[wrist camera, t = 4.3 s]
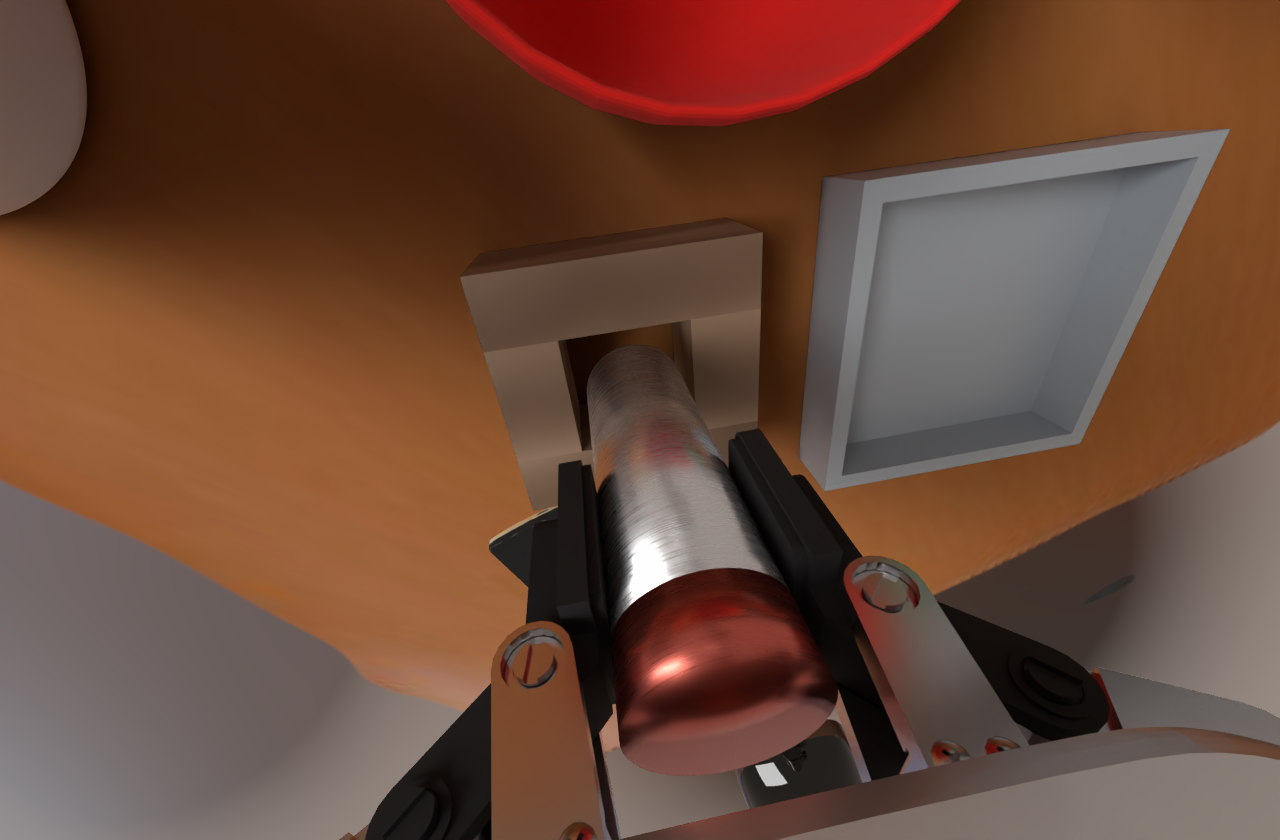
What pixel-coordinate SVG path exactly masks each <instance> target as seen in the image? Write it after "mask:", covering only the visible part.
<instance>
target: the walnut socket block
mask: <svg viewBox="0 0 1280 840" xmlns="http://www.w3.org/2000/svg"><path fill="white" fill-rule="evenodd" d="M762 246H763V232H761V231H758V230H756V229H753V228H751V227H748V226H746V225H743V224H741V223H738V222H736V221H733V220H731V219H728V218H721V219H714V220H707V221H700V222H693V223H686V224H680V225H673V226H666V227H659V228H652V229H645V230H638V231H631V232H624V233H617V234H611V235H604V236H597V237H590V238H583V239H576V240H569V241H562V242H555V243H548V244H541V245H535V246H528V247H521V248H514V249H507V250H500V251H493V252H486V253H480V254H479V255H478V256H477V257H476V258H475V260H474V261H473V262H472V263H471V264H470V265H469V267H468V268H467V269H466V270H465V271H464V272H463V274H462V275H461V276H460V280H461V283H462V287H463V290H464V293H465V296H466V299H467V302H468V306H469V309H470V312H471V315H472V318H473V321H474V325H475V328H476V331H477V334H478V337H479V340H480V344H481V347H482V350H483V353H484V356H485V359H486V363H487V366H488V369H489V372H490V375H491V378H492V382H493V385H494V388H495V391H496V394H497V398H498V401H499V404H500V407H501V410H502V413H503V417H504V420H505V423H506V426H507V429H508V432H509V436H510V439H511V442H512V445H513V448H514V451H515V455H516V458H517V461H518V464H519V467H520V470H521V474H522V477H523V480H524V483H525V486H526V489H527V493H528V496H529V499H530V502H531V505H532V508H533V511H534V510H539V509H545V508H550V507H556V506H558V465H559V464H560V463H566V462H572V461H577V460H581V461H582V465H589V464H591V468H592V472H593V477H594V482H595V475H594V464H593V453H592V443H591V432H590V421H589V411H588V404H582V405H579V401H578V396H577V391H576V386H575V382H574V377H573V372H572V367H571V363H570V358H569V353H568V348H567V344H566V339H572V338H579V337H585V336H591V335H598V334H604V333H610V332H616V331H623V330H629V329H635V328H642V327H648V326H654V325H661V324H667V323H672V335H673V348H674V360H675V364H676V366H677V368H678V370H679V372H680V374H681V376H682V378H683V380H684V382H685V384H686V386H687V388H688V390H689V392H690V394H691V396H692V398H693V400H694V402H695V404H696V406H697V408H698V410H699V412H700V414H701V416H702V418H703V420H704V422H705V424H706V425H707V427H708V429H709V431H710V433H711V435H712V437H713V439H714V441H715V443H716V445H717V447H718V449H719V451H720V453H721V455H722V457H723V459H724V461H725V463H726V465H727V467H728V442H729V440H730V439H735V434H736V433H737V432H742V431H748V430H753V429H758V396H759V358H760V321H761V284H762ZM595 486H596V485H595Z"/></svg>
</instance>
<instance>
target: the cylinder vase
mask: <svg viewBox="0 0 1280 840" xmlns="http://www.w3.org/2000/svg"><path fill="white" fill-rule="evenodd" d="M86 111H87V86H86V75H85V68H84V62H83V57H82V52H81V47H80V43H79V39H78V36H77V32H76V29H75V26H74V22H73V19H72V16H71V14H70V11H69V8H68V5H67V3H66V0H0V215H3V214H6V213H9V212H12V211H15V210H17V209H19V208H22V207H24V206H26V205H28V204H29V203H31V202H33V201H35V200H36V199H38V198H39V197H41V196H42V195H44V194H45V193H46V192H47V191H49V190H50V189H51V188H52V187H53V186H54V185H55V184H56V183H57V182H58V181H59V180H60V179H61V177H62V176H63V175H64V174H65V172H66V171H67V169H68V168H69V166H70V165H71V163H72V161H73V159H74V157H75V155H76V153H77V151H78V148H79V146H80V143H81V140H82V136H83V132H84V127H85V121H86Z"/></svg>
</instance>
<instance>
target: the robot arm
mask: <svg viewBox="0 0 1280 840" xmlns="http://www.w3.org/2000/svg"><path fill="white" fill-rule="evenodd" d="M728 469H729V471H730V473H731V475H732V477H733V479H734V481H735V483H736V485H737V487H738V489H739V491H740V493H741V495H742V497H743V499H744V501H745V503H746V505H747V507H748V509H749V511H750V513H751V515H752V517H753V519H754V521H755V523H756V525H757V527H758V529H759V531H760V533H761V534H762V536H763V538H764V540H765V542H766V544H767V546H768V548H769V550H770V552H771V554H772V556H773V558H774V560H775V562H776V564H777V566H778V568H779V570H780V572H781V574H782V576H783V578H784V580H785V582H786V584H787V586H788V588H789V590H790V592H791V594H792V596H793V598H794V600H795V602H796V604H797V606H798V608H799V610H800V612H801V614H802V616H803V618H804V620H805V622H806V624H807V626H808V628H809V630H810V632H811V634H812V636H813V638H814V640H815V642H816V644H817V645H818V647H819V649H820V651H821V653H822V655H823V657H824V659H825V661H826V663H827V665H828V667H829V669H830V671H831V673H832V675H833V677H834V679H835V681H836V684H837V686H838V700H837V703H836V705H835V706H836V709H837V712H838V714H839V717H840V720H841V723H842V726H843V729H844V732H845V734H846V737H847V740H848V743H849V746H850V749H851V752H852V754H853V757H854V760H855V763H856V766H857V769H858V772H859V775H860V777H861V780H862V783H860V784H856V785H851V786H847V787H843V788H838V789H834V790H830V791H825V792H821V793H817V794H812V795H808V796H804V797H799V798H795V799H791V800H786V801H782V802H778V803H773V804H769V805H765V806H760V807H756V808H752V809H748V810H743V811H739V812H735V813H730V814H726V815H722V816H717V817H713V818H708V819H705V820H700V821H696V822H691V823H687V824H683V825H679V826H674V827H670V828H666V829H662V830H658V831H653V832H649V833H645V834H641V835H636V836H632V837H628V838H624V839H621V835H620V829H619V824H618V819H617V814H616V809H615V803H614V798H613V793H612V788H611V783H610V777H609V772H608V767H607V762H606V756H605V751H604V746H603V741H602V735H601V729H602V728H603V727H604V725H605V724H606V722H607V721H608V720H609V718H610V717H611V715H612V714H613V708H612V704H616V699H615V688H614V678H613V667H612V656H611V646H610V638H611V632H610V622H609V612H608V601H607V591H606V580H605V570H604V560H603V549H602V539H601V529H600V518H599V508H598V498H597V491H596V486H595V482H594V477H593V472H592V468H591V464H589V465H582V461H581V460H577V461H572V462H566V463H560V464H559V465H558V519H554V520H549V521H543V522H538V523H535V524H534V527H533V537H532V550H531V563H530V576H529V589H528V602H527V615H526V625H524V626H522V627H519V628H517V629H516V630H515V631H514V632H512V633H511V634H510V635H508V636H507V637H506V639H505V640H504V641H503V642H502V644H501V645H500V646H499V647H498V650H497V652H496V654H495V656H494V658H493V663H492V669H491V684H490V685H489V686H488V687H487V688H486V689H485V690H484V691H483V692H482V693H481V694H480V696H479V697H478V698H477V699H476V700H475V701H474V702H473V703H472V704H471V705H470V706H469V707H468V708H467V709H466V710H465V712H464V713H463V714H462V715H461V716H460V717H459V718H458V719H457V720H456V721H455V723H453V724H452V725H451V726H450V728H449V729H448V730H447V731H446V732H445V733H444V734H443V735H442V736H441V737H440V738H439V739H438V741H436V742H435V744H434V745H433V746H432V747H431V748H430V749H429V750H428V751H427V752H426V753H425V754H424V756H422V757H421V759H420V760H419V761H418V762H417V763H416V764H415V765H414V766H413V767H412V768H411V769H410V770H409V771H408V773H406V774H405V776H404V777H403V778H402V779H401V780H400V781H399V782H398V783H397V784H396V785H395V786H394V787H393V788H392V790H391V791H390V792H389V793H388V794H387V796H386V797H385V798H384V800H383V801H382V802H381V804H380V805H379V806H378V808H377V810H376V812H375V814H374V816H373V818H372V820H371V822H370V824H369V825H367V826H366V827H365V828H363V829H362V830H361V831H360V832H358V833H357V834H356V835H354V836H353V835H351V834H350V833H347V834H346V835H345V836H343V837H342V838H341V839H340V840H1280V718H1278V717H1276V716H1274V715H1272V714H1270V713H1269V712H1267V711H1265V710H1262V709H1259V708H1256V707H1254V706H1251V705H1248V704H1245V703H1242V702H1239V701H1234V700H1230V699H1226V698H1222V697H1218V696H1214V695H1210V694H1206V693H1202V692H1198V691H1194V690H1190V689H1186V688H1181V687H1177V686H1173V685H1169V684H1165V683H1161V682H1157V681H1152V680H1149V679H1145V678H1141V677H1136V676H1132V675H1128V674H1124V673H1120V672H1116V671H1112V670H1108V669H1103V668H1100V667H1097V668H1096V669H1095V670H1094V671H1093V672H1090V671H1087V670H1086V669H1085V668H1084V667H1082V666H1081V665H1080V664H1078V663H1077V662H1075V661H1074V660H1073V659H1071V658H1070V657H1069V656H1067V655H1065V654H1063V653H1061V652H1059V651H1057V650H1055V649H1053V648H1051V647H1049V646H1046V645H1044V644H1042V643H1039V642H1037V641H1034V640H1032V639H1029V638H1027V637H1024V636H1022V635H1019V634H1017V633H1014V632H1012V631H1009V630H1007V629H1004V628H1002V627H999V626H997V625H995V624H992V623H989V622H987V621H985V620H982V619H980V618H977V617H975V616H972V615H970V614H967V613H965V612H962V611H960V610H957V609H955V608H952V607H950V606H948V605H945V604H943V603H940V602H938V601H936V599H935V598H934V596H933V595H932V593H931V592H930V590H929V589H928V587H927V586H926V584H925V583H924V581H923V580H922V579H921V578H920V577H919V576H918V574H917V573H915V572H914V571H913V570H911V569H910V568H909V567H907V566H906V565H904V564H902V563H900V562H897V561H895V560H893V559H889V558H885V557H881V556H866V557H862V555H861V554H860V552H859V551H858V550H857V548H856V547H855V545H854V544H853V543H852V541H851V540H850V539H849V537H848V536H847V534H846V533H845V532H844V530H843V529H842V527H841V526H840V525H839V523H838V522H837V521H836V519H835V518H834V516H833V515H832V514H831V512H830V511H829V509H828V508H827V507H826V505H825V504H824V502H823V501H822V500H821V498H820V497H819V496H818V494H817V493H816V491H815V490H814V489H813V487H812V486H811V484H810V483H809V482H808V480H807V479H806V478H805V477H804V476H803V475H800V474H799V475H794V476H792V475H791V474H790V472H789V471H788V470H787V468H786V467H785V465H784V464H783V462H782V461H781V459H780V458H779V456H778V455H777V453H776V452H775V451H774V449H773V448H772V446H771V445H770V443H769V442H768V440H767V439H766V437H765V436H764V434H763V433H762V432H761V430H760V429H753V430H748V431H742V432H737V433H736V434H735V439H730V440H729V442H728Z"/></svg>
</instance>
